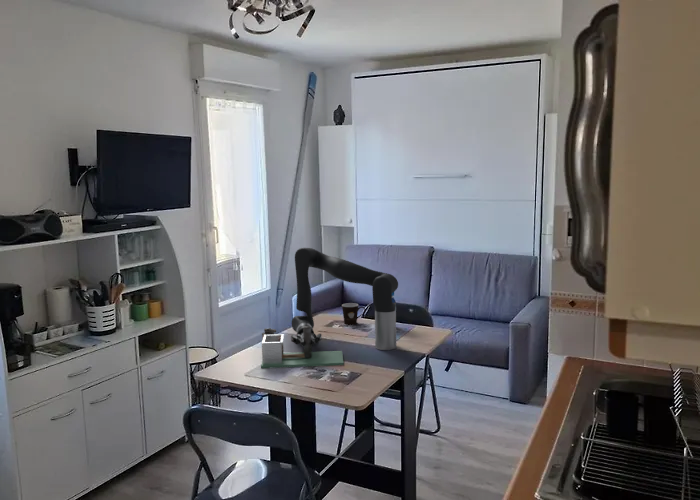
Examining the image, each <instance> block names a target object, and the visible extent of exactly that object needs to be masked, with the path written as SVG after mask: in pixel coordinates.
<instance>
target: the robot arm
mask: <svg viewBox="0 0 700 500" xmlns="http://www.w3.org/2000/svg"><path fill="white" fill-rule="evenodd" d="M294 266H295V276H296V310H297V311H299V312H304V313H305V314H306V315H295V316H293V317H292V320H291V328H292V329H293V331H294V332H295V333H296V335H293V334H292V335H291V336H290V339H291V342H292V343H293V344H295V345H299V344H300V346H301V347H304V335H303V327H304V326H310V327H311V347H313V346H315V345H316V344H319V343H320V342H321V341H322V340H323V339H322V337H323V335H322V333H318V334H316V333H315V331H314V327H315V321H314V318H313V313H312V299H313V298H312V289H311V285H310V280H309V270H310V268H313V269H318V270H322V271H325V272H326V273H328V274H329V275H331V277H334V278H337V279H339V280H341V281H344V282H347V283H351V284H362V285H368V286H371V287H372V290H371V291H372V304H373V306H374V344H375V349H377V350H381V351H389V350H390V351H391V350H396V349H397V324H396V325H395V306H396V304H394V303H393V302H392V293H393V292H394V293H395V292H396V291H397V290H398V287H399V282H398V279H397V278H396V277H395V276H394V275H392V274H391V273H388V272H387V273H386V272H382V271H378V270H373V269H370V268H367V267H365V266H363V265H360V264H357V263H355V262H353V261H349V260H347V259H342V258H341V257H340V258H338V257H336V256H330V255H327V254H325V253H323V252H321V251H319V250H317V249H314V248H313V247H312V248H311V247H300V248H298V249H297V250H296V251H295V254H294Z"/></svg>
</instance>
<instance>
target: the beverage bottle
mask: <svg viewBox="0 0 700 500" xmlns="http://www.w3.org/2000/svg"><path fill="white" fill-rule="evenodd" d="M394 296H395V291H394V292H393V293H392V302H393V303H394V304H395V325H396V326H397V324H396V323H397V312H396V311H397V305H396V303H397V302H396V299H395V297H394Z"/></svg>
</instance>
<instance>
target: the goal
mask: <svg viewBox="0 0 700 500" xmlns="http://www.w3.org/2000/svg"><path fill="white" fill-rule="evenodd" d="M275 334H276V335H264V337H262V341H261V356H262V357H261V359H262V361H261V363H262V362H263V364H280V363H282V354H284V353H285V352H284V340H285V334H284V333H283V334H278V333H275Z"/></svg>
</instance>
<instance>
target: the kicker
mask: <svg viewBox="0 0 700 500" xmlns="http://www.w3.org/2000/svg"><path fill="white" fill-rule="evenodd" d="M303 335H304V346H303V352H304V354H282V358H303V357H305V358H311V357H312V352H313V350H312V345H311V327H310V326H304V327H303Z"/></svg>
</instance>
